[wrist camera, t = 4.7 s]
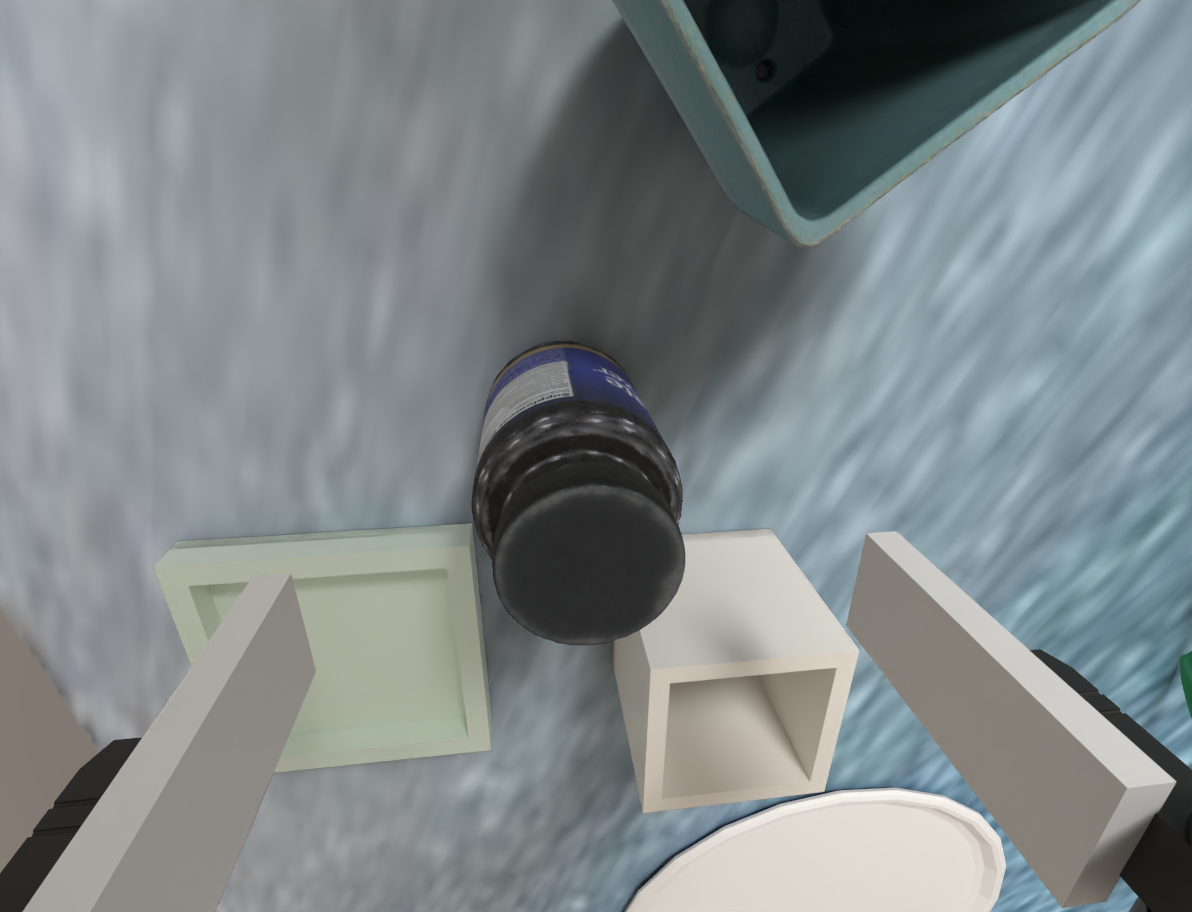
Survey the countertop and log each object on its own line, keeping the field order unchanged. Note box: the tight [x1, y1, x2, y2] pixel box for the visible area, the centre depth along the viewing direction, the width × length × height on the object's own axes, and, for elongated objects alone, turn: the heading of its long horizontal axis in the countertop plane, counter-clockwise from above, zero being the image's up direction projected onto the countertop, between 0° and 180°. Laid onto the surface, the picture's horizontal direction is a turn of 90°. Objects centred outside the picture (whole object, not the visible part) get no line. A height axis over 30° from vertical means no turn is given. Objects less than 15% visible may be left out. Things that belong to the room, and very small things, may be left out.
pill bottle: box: [472, 341, 686, 645], centre depth 19 cm, size 6×6×11 cm
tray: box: [153, 523, 492, 773], centre depth 27 cm, size 12×12×2 cm
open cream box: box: [613, 529, 859, 813], centre depth 25 cm, size 7×7×8 cm
